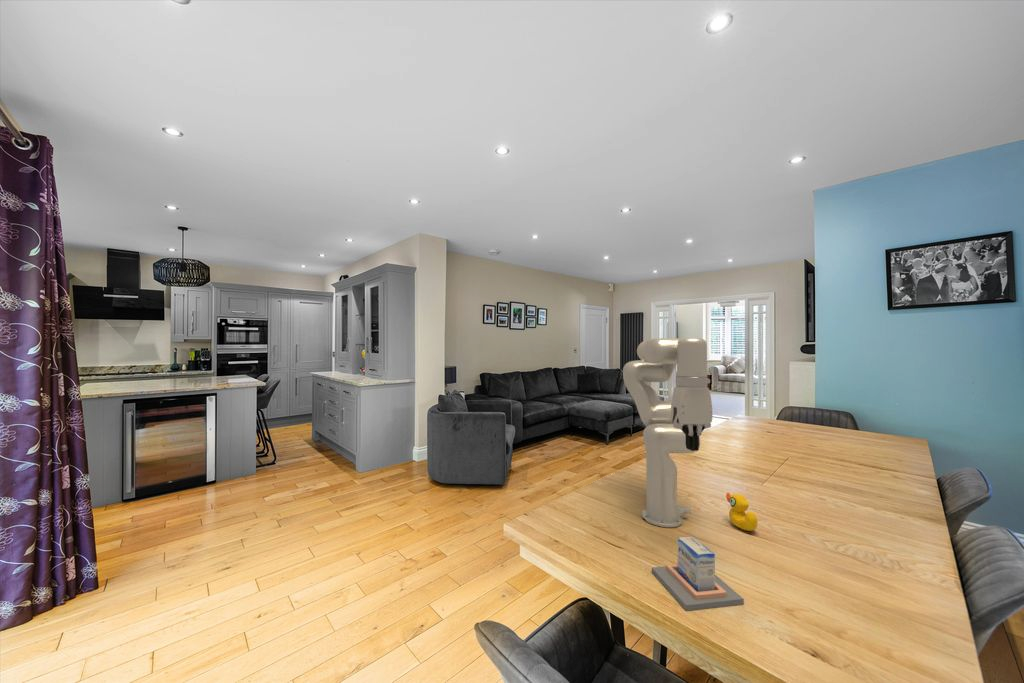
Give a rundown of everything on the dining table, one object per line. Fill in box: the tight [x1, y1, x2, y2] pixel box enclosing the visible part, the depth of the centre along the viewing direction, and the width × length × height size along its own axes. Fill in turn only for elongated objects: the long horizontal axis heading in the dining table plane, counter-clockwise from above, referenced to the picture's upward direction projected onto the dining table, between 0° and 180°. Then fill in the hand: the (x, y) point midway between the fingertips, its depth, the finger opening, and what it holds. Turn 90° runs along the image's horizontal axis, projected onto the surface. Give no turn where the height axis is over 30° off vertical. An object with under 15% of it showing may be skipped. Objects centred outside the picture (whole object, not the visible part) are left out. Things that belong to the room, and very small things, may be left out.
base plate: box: [651, 563, 745, 612], centre depth 87 cm, size 14×14×2 cm
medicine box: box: [677, 536, 716, 592], centre depth 88 cm, size 8×4×9 cm, turn 10°
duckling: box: [725, 492, 758, 532], centre depth 118 cm, size 11×5×10 cm, turn 10°
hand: (692, 449), depth 101 cm, fingers closed
